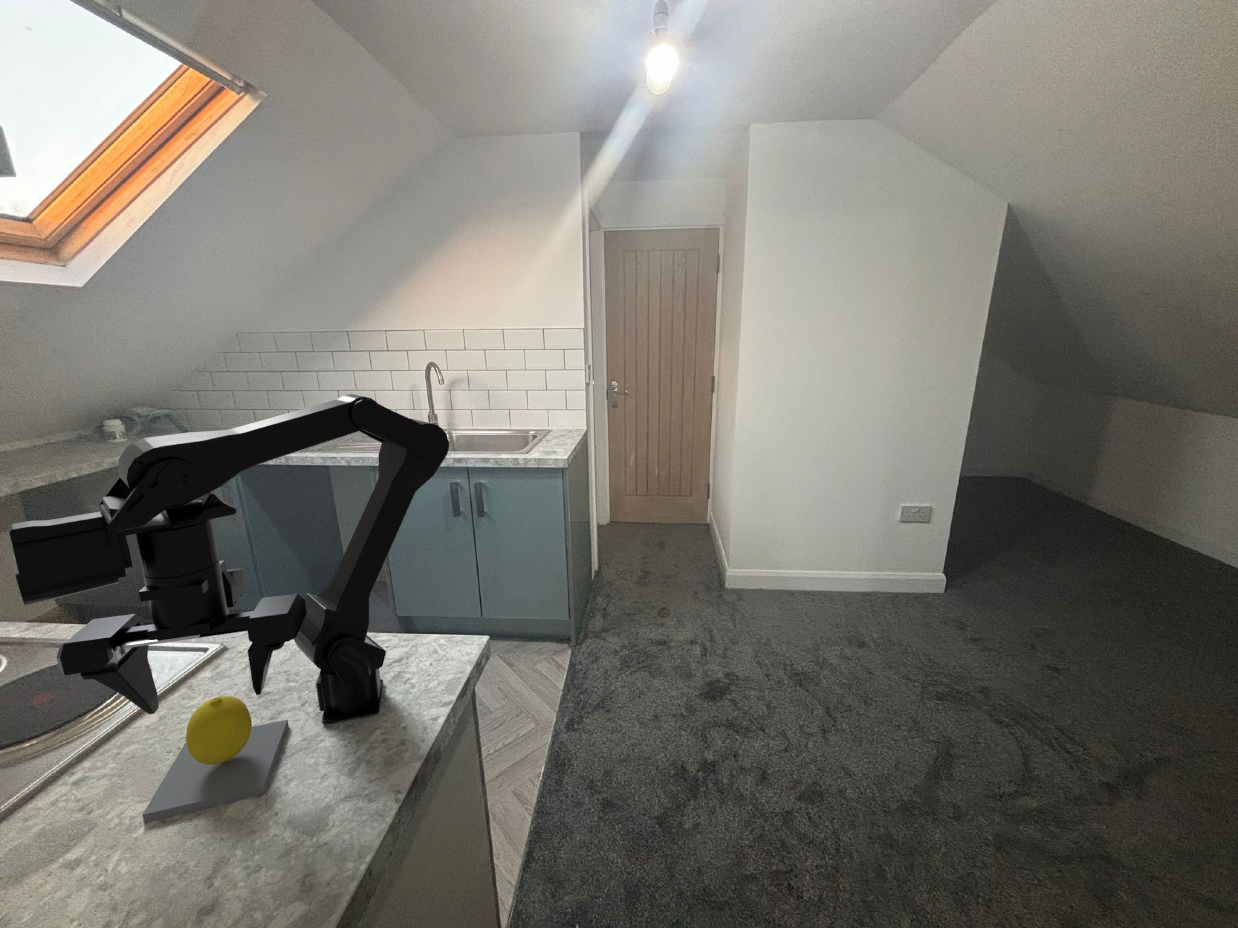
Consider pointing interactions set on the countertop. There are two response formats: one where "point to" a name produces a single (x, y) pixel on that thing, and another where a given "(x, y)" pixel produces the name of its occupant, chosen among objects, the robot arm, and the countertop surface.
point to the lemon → (218, 730)
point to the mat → (218, 776)
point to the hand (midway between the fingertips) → (208, 701)
